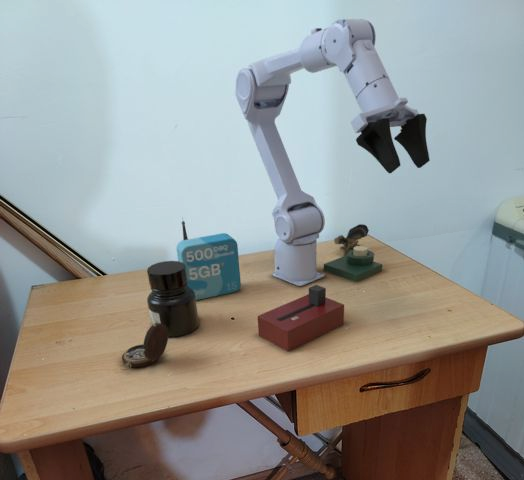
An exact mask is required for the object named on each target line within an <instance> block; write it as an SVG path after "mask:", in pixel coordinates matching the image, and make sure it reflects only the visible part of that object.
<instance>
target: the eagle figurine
mask: <svg viewBox="0 0 524 480" xmlns="http://www.w3.org/2000/svg"><path fill="white" fill-rule="evenodd" d="M369 231H370V230H369V227H368V226H367V225H366V224H364V223H360V224H359V223H358V224H357V225H356V226H354V227H351V228H349V230H348V232H347V235H346V237H345V236H344V235H343V234H339V235H337V236H336V237H334V239H333V242H334V244H335V245H343V246H340V249H342V250H344V253H343V256H346V255H347V253H348V252H349V251H351V249H352V250H354V247H356V246H361V244H358V243H359V242H360V241H359V240H361V239H363V238H366V237H367V236H368V234H369Z"/></svg>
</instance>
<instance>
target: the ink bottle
mask: <svg viewBox="0 0 524 480" xmlns="http://www.w3.org/2000/svg"><path fill="white" fill-rule="evenodd" d="M146 273H147V278H148V284H149V286H150V290H151V292H150V293H149V294H148V296H147V298H146V301H147V302H146V303H147V308H148V314H149V318H150V324H151V325H152V324H155V323H161V324H163V325H165V326H166V328H167V331H168V337H177V336H178V337H179V336H183V335H187V334H190V333H192V332H193V331H195V330H196V329H197V327H198V326H199V322H200V319H199V312H198V305H197V300H196V297H195V293H194V291H193V290H192V289H191V288H190V287H188V286H187V284H188V282H187V274H186V267H185V264H184V263H182V262H179V261H178V260H167V261H166V260H165V261H164V260H163V261H160V262H156V263H154V264H151V265H150V266H148V267H147V269H146Z"/></svg>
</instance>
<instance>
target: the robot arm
mask: <svg viewBox="0 0 524 480" xmlns="http://www.w3.org/2000/svg"><path fill="white" fill-rule="evenodd" d="M376 36H377V35H376V29H375V26H374V25H373V23H372V22H371V21H370V20H368V19H363V18H357V19H356V18H340V19H339V18H338V19H336V20H334V21H332V22H331V25H330V26H328V27H325V28H324V29H323V28H322V27H314V28H312V29H310V34H309V35H306V36H305V37H304V38H303V39H302V40H301V41H300V45H299V47H297V48H294V49H290V50H287V51H284V52H281V53H278V54H277V53H276V54H275V55H271V56H267V57H265V58H262V59H260V60H257V61H254V62H252V63H250V64H249V65H248V66H247V67H242V68H241V69H240V70H238V73H237V74H236V75H237V76H236V79H235V89H234V90H235V91H234V94H235V98H236V100H237V102H238V105H239V107H240V110H241V113H242V115H243V118H244V119H245V120H246V121H247V124H248V127H249V132H250V133H251V136H252V139H253V140H254V144H255V146H256V148H257V151H258V153H259V156H260V158H261V161H262V163H263V166H264V168H265V171H266V173H267V176H268V178H269V181H270V183H271V186H272V188H273V191H274V194H275V196H276V198H277V203H276V204H275V206H274V207H273V209H272V211H271V216H272V218H273V221H274V230H275V233H276V236H277V237H278V238H277V240H276V242H275V244H274V248H273V256H274V272H273V273H272V276H273V277H275V278H277V279H279V280H282V281H284V282H287V283H289V284H292V285H294V286H297V287H303V286H306V285H307V284H310V283H312V282H316V281H318V280H320V279H322V278H324V277H325V273H321V272H318V271H317V239H320V234H321V233H322V232H323V230H324V228H325V224H326V220H325V214H324V212H323V210H322V208H321V207H320V206H319V205H318V204H317V202H316V199H315V198H314V196H312V195H311V194H310V193H309V194H308V193H306V192H305V191H303V190H302V188H301V186H300V183H299V181H298V178H297V175H296V173H295V169H294V168H293V166H292V165H293V164H292V163H291V160H290V158H289V156H288V153H287V150H286V148H285V145H284V143H283V140H282V137H281V135H280V132H279V130H278V127H277V125H276V118H278V117H279V116H280V115H281V113H282V110H283V108H284V107H283V106H284V104H285V102H286V99H287V96H288V93H289V89H290V88H289V87H290V85H291V83H292V77H291V75H292V74H293V73H296V72H299V71H301V70H305V71H306V72H308V73H311V74H314V73H318V72H321V71H325V70H328V69H332V68H335V67H337V68H338V70H339V72H341V73H343V75H344V78H345V79H346V82H347V84H348V85H349V88H350V90H351V92H352V94H353V96H354V98H355V100H356V103H357V105H358V107H359V109H360V111H361V112H360V113H359V112H358V113H357V114H356V116H355V117H354V118H353V119H352V120H351V121H350V123H351V126H352V129H353V130H354V132H355V134H359V133H360V134H359V135H358V136H356V139H355V141H356V143H357V145H358V146H359V147H361V148H363V149H364V150H365V151H367V153H369V154H370V155H371V156H372V157H374V158H375V160H376V161H377V162H378V163H379V164H380V165H381V166H382V168H383V169H384V170H385V171H386V172H387V173H388V174H392V173H394V172H395V171H396V170H397V169H398V168H400V167H401V160H400V158H399V157H400V156H399V155H398V151H397V149H396V147H395V143H394V141H396V142H397V143H399V145H400V146H402V147H403V149H404V150H405V151H406V153H407V154H408V156H409V158H410V159H411V161H412V163H413V164H414V166H415V167H416V168H417V169H420V168H423V167H424V166H425V165H426V164H427V163H429V162H430V161H431V160H430V153H429V148H428V142H427V121H428V119H427V116H426V114H425V113H419V111H418V109H417V108H416V109H414V108H411V107H410V106H408V105H407V104H408V102H409V100H408V97H399V95H398V94H397V91H396V89H395V87H394V85H393V83H392V81H391V78H390V77H389V74H388V72H387V70H386V67H385V66H384V63H383V61H382V60H381V57H380V56H379V53H378V52H377V49H376V48H375V45H376V40H377V39H376ZM396 127H400V128H401V129H400V130H399V131H400V132H399V133H398V134H397V135H395V137H394V138H393V136H392V132H391V128H396ZM393 140H394V141H393Z"/></svg>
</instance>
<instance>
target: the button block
mask: <svg viewBox="0 0 524 480" xmlns="http://www.w3.org/2000/svg"><path fill="white" fill-rule="evenodd" d="M353 251H354V249H352V250H351V249H350V250H349V252H348V253H347V254H346V255H345V256H344V255H343V256H341V257H339V258H336V259H333V260H330V261H328V262H326V263H323V271H324V272H326V273H329V274H332V275H335V276H338V277H341V278H344V279H346V280H349V281H352V282H355V283H358V282H360V281H362V280H365V279H367V278H369V277H372V276H374V275H376V274H378V273H381V272H382V271H383V263H381V262H377V261H375V253H374V252H373V251H372V250H369V249H368V253H367V256H363V257H358V256H354V255H353Z"/></svg>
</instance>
